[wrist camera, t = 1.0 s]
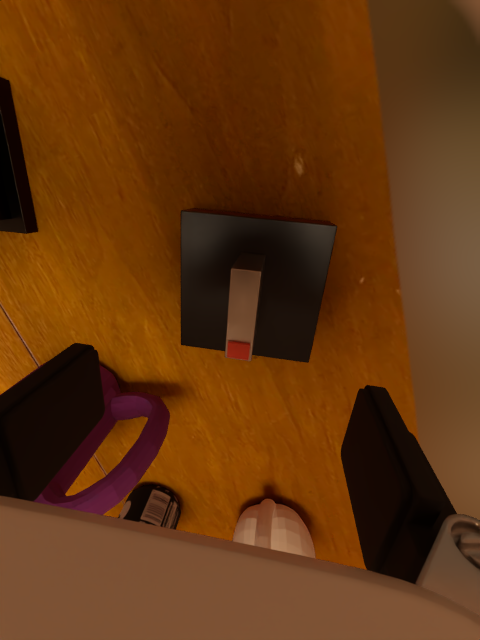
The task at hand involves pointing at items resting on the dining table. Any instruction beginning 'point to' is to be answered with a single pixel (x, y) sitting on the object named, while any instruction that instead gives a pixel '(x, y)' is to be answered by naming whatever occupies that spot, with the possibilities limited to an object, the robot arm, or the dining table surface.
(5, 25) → the dining table surface
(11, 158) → the stop pillar
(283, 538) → the cat figurine
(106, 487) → the mug
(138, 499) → the beverage can
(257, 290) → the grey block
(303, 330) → the rotary switch block
